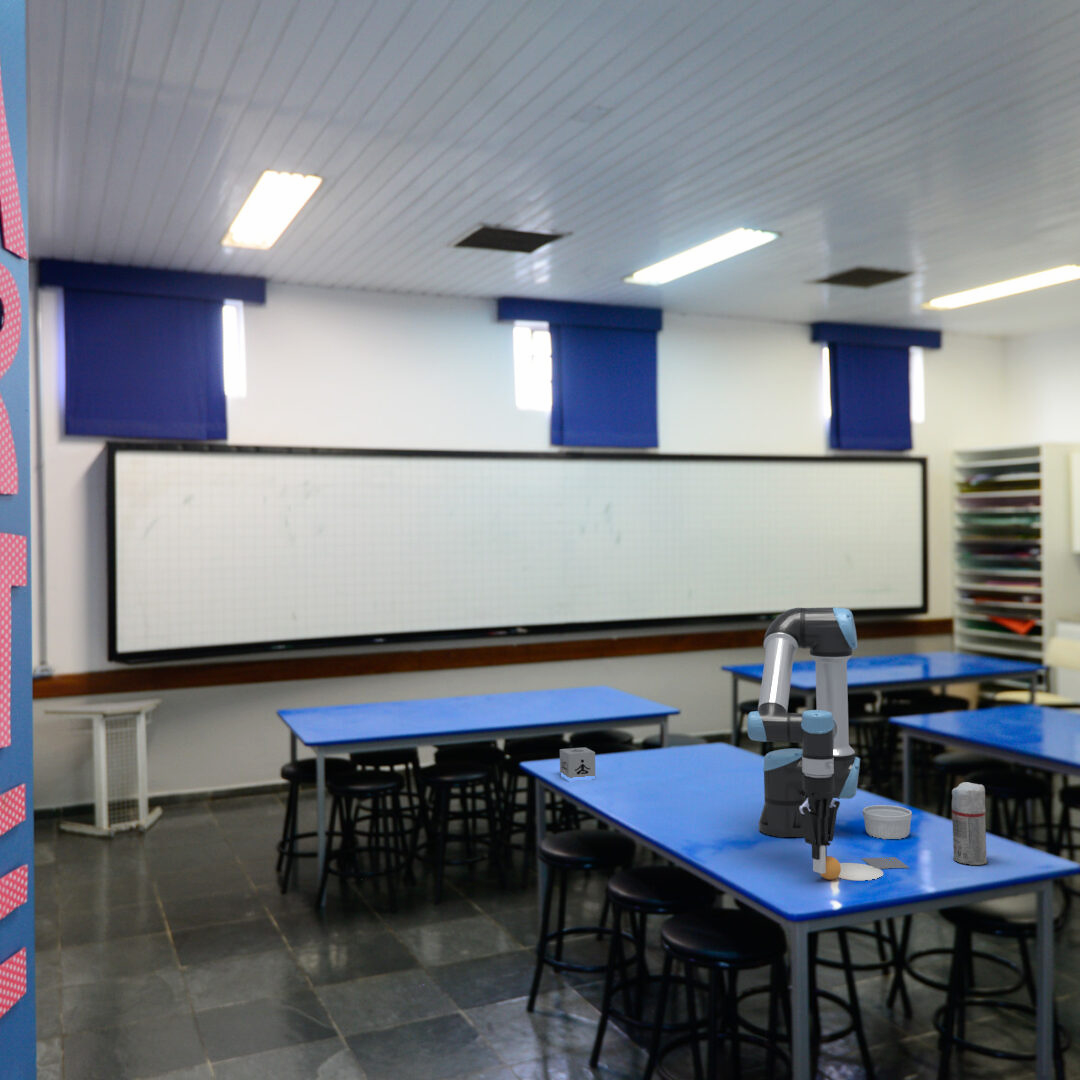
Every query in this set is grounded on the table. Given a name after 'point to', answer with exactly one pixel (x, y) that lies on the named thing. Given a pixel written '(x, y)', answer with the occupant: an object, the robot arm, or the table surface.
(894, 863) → the far mark
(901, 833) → the ramekin
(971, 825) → the spray can
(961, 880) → the table surface
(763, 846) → the table surface
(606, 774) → the table surface
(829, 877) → the ball
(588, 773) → the icon cube
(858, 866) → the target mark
